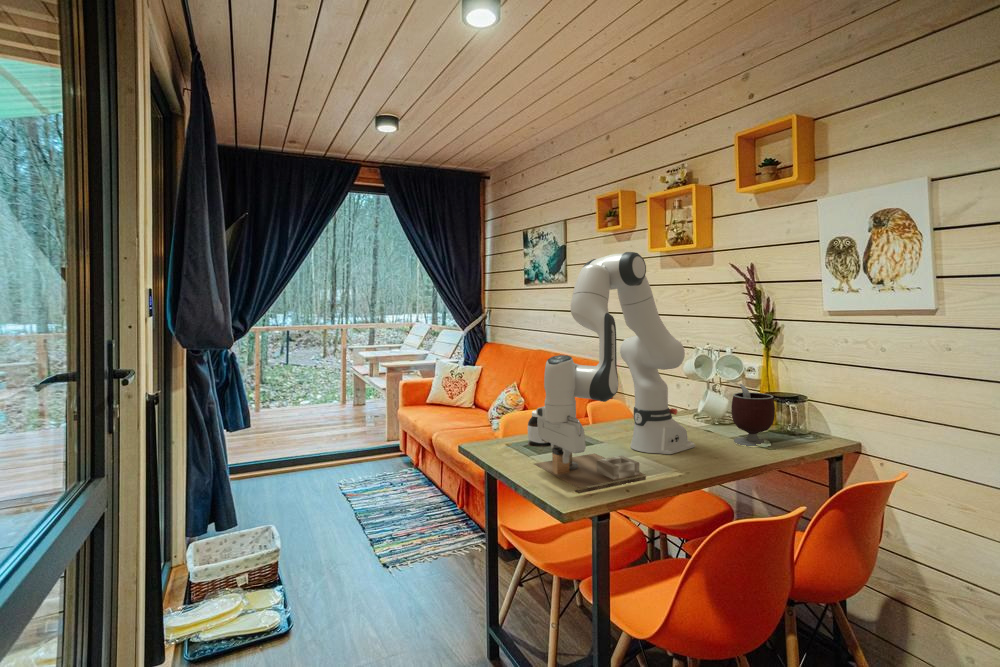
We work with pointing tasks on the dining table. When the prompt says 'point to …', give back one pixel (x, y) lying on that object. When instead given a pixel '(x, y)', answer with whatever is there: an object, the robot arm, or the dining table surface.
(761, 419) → the mate gourd
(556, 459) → the brown wooden block
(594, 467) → the notched board
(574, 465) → the bobbin
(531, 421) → the spread jar
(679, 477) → the dining table surface
